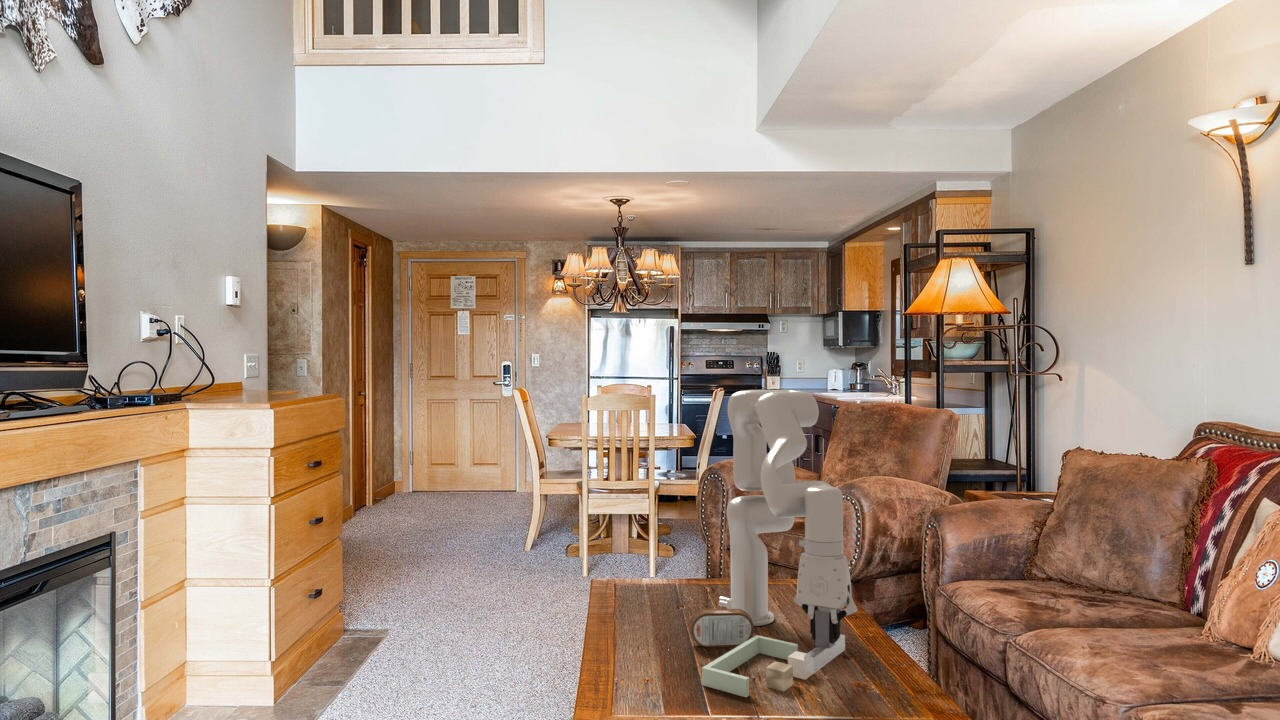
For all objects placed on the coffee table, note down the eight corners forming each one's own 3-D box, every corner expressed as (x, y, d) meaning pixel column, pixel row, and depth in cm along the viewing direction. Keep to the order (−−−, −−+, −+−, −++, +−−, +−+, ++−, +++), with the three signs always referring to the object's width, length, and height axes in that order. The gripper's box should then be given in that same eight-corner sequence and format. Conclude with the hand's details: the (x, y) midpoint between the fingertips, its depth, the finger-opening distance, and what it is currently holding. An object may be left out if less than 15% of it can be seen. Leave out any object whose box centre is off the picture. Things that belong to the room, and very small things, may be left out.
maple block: (766, 687, 157) (766, 667, 157) (775, 680, 160) (775, 661, 160) (784, 692, 154) (784, 671, 154) (792, 685, 158) (792, 665, 158)
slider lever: (801, 670, 150) (801, 618, 150) (833, 647, 163) (833, 599, 163) (816, 673, 148) (815, 621, 148) (847, 650, 161) (846, 601, 161)
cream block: (787, 675, 163) (787, 656, 163) (795, 669, 166) (795, 651, 166) (805, 680, 160) (805, 660, 160) (813, 674, 163) (813, 655, 163)
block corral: (701, 685, 158) (701, 667, 158) (756, 650, 177) (756, 635, 177) (746, 697, 152) (746, 679, 152) (797, 660, 171) (797, 644, 171)
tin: (752, 642, 182) (752, 607, 182) (755, 647, 179) (755, 611, 179) (689, 644, 181) (688, 608, 181) (690, 649, 178) (690, 612, 178)
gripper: (778, 546, 158) (779, 637, 157) (856, 556, 148) (858, 653, 148) (794, 540, 164) (795, 627, 163) (870, 549, 154) (871, 642, 154)
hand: (825, 639), depth 155 cm, fingers closed on slider lever, 3 cm apart
